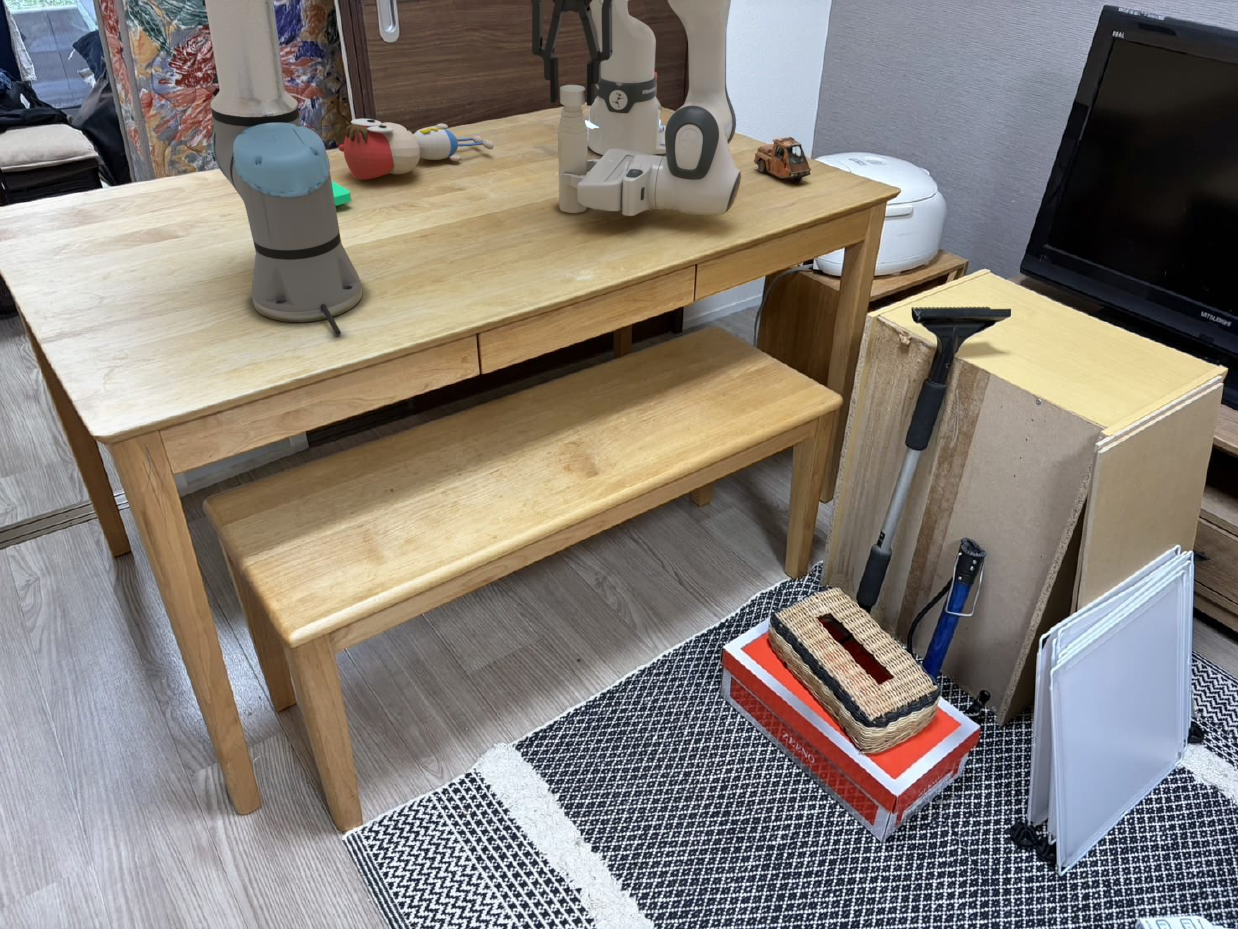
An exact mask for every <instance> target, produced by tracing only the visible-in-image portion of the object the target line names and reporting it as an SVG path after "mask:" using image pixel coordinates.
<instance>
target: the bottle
mask: <svg viewBox="0 0 1238 929" xmlns="http://www.w3.org/2000/svg"><path fill="white" fill-rule="evenodd" d="M586 121H587V120H586V118H585V114H584V108H582V105H580V106H566V105H563V108H562V110H561V114H560V118H559V122H558V129H557V137H558V138H557V143H558V144H557V146H558V147H557V148H558V152H557V153H558V155H557V156H558V157H557V158H558V206H559V207H558V208H559V210H560V211H561V212H563V213H569V214H578V213H583V212H585V211H586V210H587V209H588V207H585V206H582V205H581V204H579V203H578V201H577V189H576V188H574V187H572V186H571V185H563V184H562V183H561V176H562V174H563V173H564V172H573V174H574V175H577V176H581V175H584V176H586V174H587V173H588V172H587V160H588V146H587V134H588V127H587V124H586Z"/></svg>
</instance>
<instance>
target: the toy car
mask: <svg viewBox="0 0 1238 929" xmlns="http://www.w3.org/2000/svg"><path fill="white" fill-rule="evenodd" d="M771 141H772V143H771V144H765V145H761V146H759V147H758V148H757V151H756V152H755V153H754V159H753V163H754V164H755V165H756V166H757V168H758V171H759V173H766V174H769V175H772V176H774V177H776V178H778V179H780V180H784V181H788V180H791V179H792V182H794V183H795V184H800V183H801V182H802V180H803V178H805V177H808V176H810V175H811V171H812V168H811V167H810V164H809V162H808V160H807V159H808V158H807V157H806V154H805V152H804V151H805V150H804V149H803V147H802V144H801V143H800V142H799V141H797V140H795V138H794V137H792V136H786V137H779V138H773V139H772V140H771ZM797 147H798V148H799V149H800V155H798V154H797V149H795V150H794V148H797ZM793 151H795V152H793Z"/></svg>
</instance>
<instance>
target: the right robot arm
mask: <svg viewBox="0 0 1238 929" xmlns="http://www.w3.org/2000/svg"><path fill="white" fill-rule="evenodd" d="M629 1H630V0H614V1H613V4H612V48H613V53H612V56H611V57H610V58H609V59H608V60H605V61H602V62H601V79H600V82H599V83H598V84H595V88H596V90H595V92H596V95H597V96H596V97H595V100H594V103H593V104H592V106H588V107H589V109H588V120H586V124H587V148H589V149H591V150H592V151H593V152H594V153H595V154H599V155H602V156H601V157H600V159H597V158H594V159H587V174H586V176H584V175H581V176H577V175H574V174H573V172H564V173H563V174H562V176H561V183H562V184H563V185H571V186H572V187H574V188H576V189H577V201H578V203H579V204H581V205H582V206H585V207H587V208H589V209H595V210H599V211H605V212H620V211H621V214H622V216H626V217H634V216H636V215H637V214H639V213H640V214H641V213H643V212H644V211H649V210H656V211H664V210H673V211H676V212H678V213H681V214H687V215H696V216H697V215H698V216H720V215H725V213H727V212H728V211H729V210H730V209H731V207H732V206H733V205H734V202H735V200H736V197H737V195H738V191H739V189H740V185H741V179H742V172H741V171H740V169H739V168H738V166H737V165H736V163H735V160H734V158H733V156H732V153H731V149H730V147H729V144H730V143H731V142H732V139H733V138H734V135H735V133H736V129H737V118H736V113H735V109H734V107H733V104H732V102H731V99H730V97H729V93H728V88H727V29H728V24H729V23H728V22H729V18H730V17H729V15H730V10H731V5H732V0H667V3H668V5H669V6H670V8H671V9H672V11H673V12H674V13H675V14H676V16H677V17H678V18H679V20H680V21H681V23H682V25H683V27H684V30H685V33H686V38H687V43H688V44H687V45H688V46H687V48H688V49H687V50H688V91H687V96H686V98H685V101H684V103H683V105H682V106H680V107H679V108H677V109H676V110H675V111H674V112H673V113H672V114H671V115H670V117H669V119H668V120H667V122H666V125H664V124H662V120H663V105H661V103H660V101H659V99H658V97H657V93H658V91H657V89H658V83H657V80H658V73H657V71H655V68H656V48H657V47H656V46H657V40H656V36H655V33H654V31H653V30H652V29H651V28H650V26H649V25H648V24H646V23H644V22H642V21H641V20H640V19H638V18H636V17H633V15H630V13H629V9H628V8H629V7H628V5H629V4H628V3H629ZM590 7H591V11H592V19H593V23H594V27H595V31H596V35H597V39H598V43H599V47H600V51H601V52H602V4H600V2H599V0H592V2H591V3H590ZM663 155H665V156H663Z"/></svg>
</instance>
